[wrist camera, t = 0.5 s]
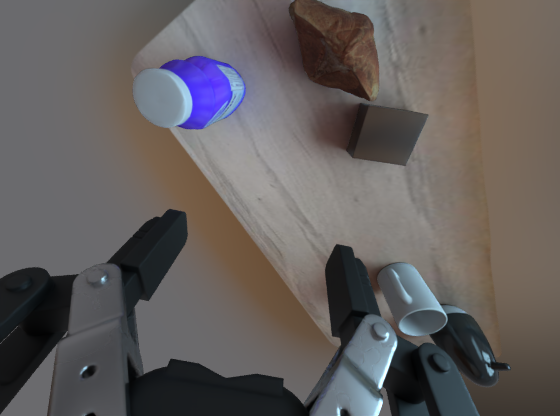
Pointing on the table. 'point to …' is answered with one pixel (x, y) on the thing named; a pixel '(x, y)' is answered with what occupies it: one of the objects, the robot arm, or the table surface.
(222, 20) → the table surface
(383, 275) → the mug
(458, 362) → the pump dispenser
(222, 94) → the bottle
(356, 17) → the fossil
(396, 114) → the walnut block
